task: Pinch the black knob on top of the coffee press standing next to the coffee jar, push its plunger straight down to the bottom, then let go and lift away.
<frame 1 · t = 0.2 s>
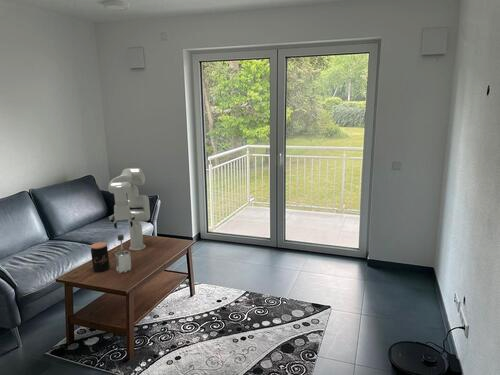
hand: (123, 227, 251), 31 cm above the table, fingers open, 9 cm apart
press carafe: (124, 269, 260), on the table
coffee jar: (101, 269, 262), on the table
plunger: (121, 245, 256), point 18 cm above the table, slide at 0.0 cm
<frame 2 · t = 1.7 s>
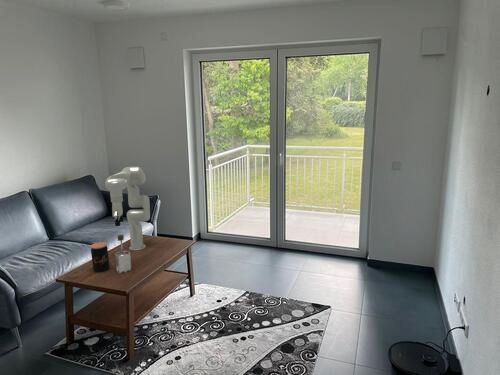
hand: (119, 223, 253), 33 cm above the table, fingers open, 9 cm apart
nothing on the table moved.
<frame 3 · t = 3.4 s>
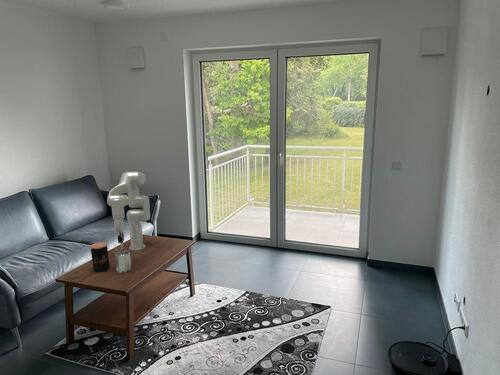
hand: (121, 241, 256), 21 cm above the table, fingers closed on plunger, 3 cm apart
plunger: (121, 245, 256), point 18 cm above the table, slide at 0.0 cm, touching gripper
everything else where it was.
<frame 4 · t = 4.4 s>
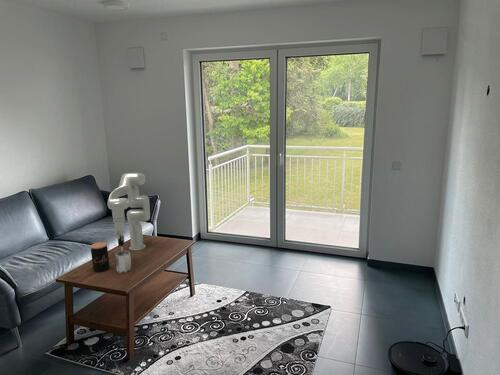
hand: (121, 244, 256), 18 cm above the table, fingers closed on plunger, 3 cm apart
plunger: (122, 248, 257), point 16 cm above the table, slide at 2.3 cm, touching gripper
everything else where it was.
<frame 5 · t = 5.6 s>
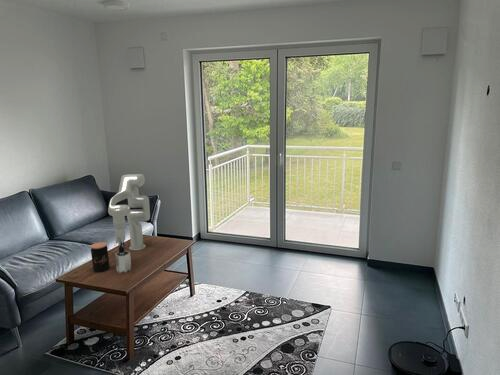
hand: (122, 251, 257), 14 cm above the table, fingers closed on plunger, 3 cm apart
plunger: (122, 255, 258), point 11 cm above the table, slide at 7.0 cm, touching gripper
everything else where it was.
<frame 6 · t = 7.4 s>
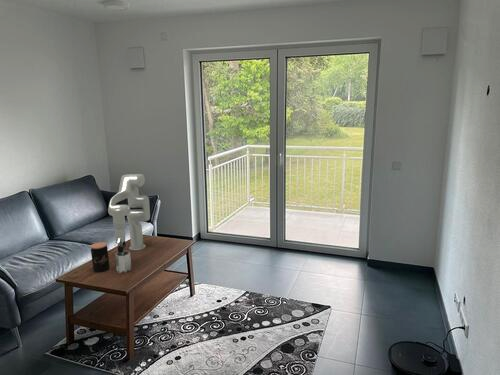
hand: (122, 249, 257), 15 cm above the table, fingers open, 9 cm apart
plunger: (122, 255, 258), point 11 cm above the table, slide at 7.0 cm
everything else where it was.
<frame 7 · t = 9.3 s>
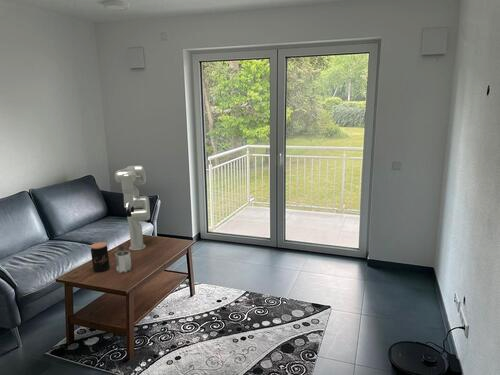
hand: (130, 214, 264), 36 cm above the table, fingers open, 9 cm apart
nothing on the table moved.
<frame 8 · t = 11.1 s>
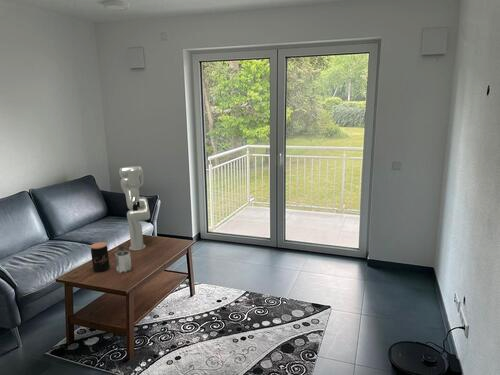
hand: (136, 208, 270), 38 cm above the table, fingers open, 9 cm apart
nothing on the table moved.
at the end: plunger slide at 7.0 cm; the gripper is holding nothing; coffee jar moved 0.2 cm from its start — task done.
